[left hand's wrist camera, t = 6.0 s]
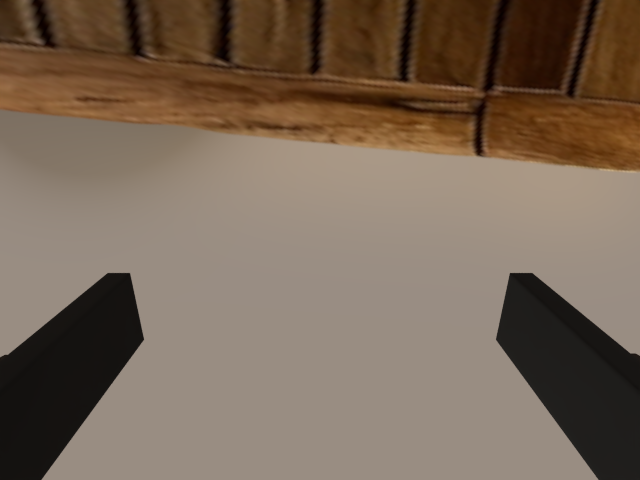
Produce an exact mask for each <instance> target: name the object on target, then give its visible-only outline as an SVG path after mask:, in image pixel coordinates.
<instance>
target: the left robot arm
mask: <svg viewBox="0 0 640 480" xmlns="http://www.w3.org/2000/svg"><path fill="white" fill-rule="evenodd" d="M143 340H144V337H143V333H142V328H141V323H140V318H139V314H138V309H137V304H136V299H135V295H134V290H133V285H132V280H131V276H130V273H107V274H106V275H105V276H104V277H102V278H101V279H100V280H99V281H98V282H96V283H95V284H94V285H93V286H92V287H90V288H89V289H88V290H87V291H85V292H84V293H83V294H82V295H80V296H79V297H78V298H77V299H76V300H74V301H73V302H72V303H71V304H69V305H68V306H67V307H66V308H65V309H63V310H62V311H61V312H60V313H58V314H57V315H56V316H55V317H54V318H52V319H51V320H50V321H49V322H47V323H46V324H45V325H44V326H43V327H41V328H40V329H39V330H38V331H36V332H35V333H34V334H33V335H32V336H30V337H29V338H28V339H27V340H26V341H24V342H23V343H22V344H21V345H19V346H18V347H17V348H16V349H15V350H13V351H12V352H11V353H10V354H8V355H4V356H2V357H0V480H42V478H43V477H44V475H45V474H46V473H47V471H48V470H49V469H50V467H51V466H52V465H53V463H54V462H55V460H56V459H57V458H58V456H59V455H60V454H61V452H62V451H63V449H64V448H65V447H66V445H67V444H68V443H69V441H70V440H71V438H72V437H73V436H74V434H75V433H76V432H77V430H78V429H79V428H80V426H81V425H82V424H83V422H84V421H85V419H86V418H87V417H88V415H89V414H90V413H91V411H92V410H93V409H94V407H95V406H96V404H97V403H98V402H99V400H100V399H101V398H102V396H103V395H104V393H105V392H106V391H107V389H108V388H109V387H110V385H111V384H112V383H113V381H114V380H115V378H116V377H117V376H118V374H119V373H120V372H121V370H122V369H123V368H124V366H125V365H126V363H127V362H128V361H129V359H130V358H131V357H132V355H133V354H134V353H135V351H136V350H137V348H138V347H139V346H140V344H141V343H142V342H143ZM496 340H497V342H498V343H499V344H500V346H501V347H502V348H503V350H504V351H505V353H506V354H507V355H508V357H509V358H510V359H511V361H512V362H513V363H514V365H515V366H516V368H517V369H518V370H519V372H520V373H521V374H522V376H523V377H524V378H525V380H526V381H527V382H528V384H529V385H530V387H531V388H532V389H533V391H534V392H535V393H536V395H537V396H538V398H539V399H540V400H541V402H542V403H543V404H544V406H545V407H546V408H547V410H548V411H549V413H550V414H551V415H552V417H553V418H554V419H555V421H556V422H557V423H558V425H559V426H560V428H561V429H562V430H563V432H564V433H565V434H566V436H567V437H568V438H569V440H570V441H571V443H572V444H573V445H574V447H575V448H576V449H577V451H578V452H579V454H580V455H581V456H582V458H583V459H584V460H585V462H586V463H587V465H588V466H589V467H590V469H591V470H592V471H593V473H594V474H595V475H596V477H597V478H598V480H640V356H639V355H637V354H630V353H629V352H628V351H627V350H625V349H624V348H623V347H622V346H621V345H619V344H618V343H617V342H616V341H614V340H613V339H612V338H611V337H610V336H608V335H607V334H606V333H605V332H603V331H602V330H601V329H600V328H599V327H597V326H596V325H595V324H594V323H593V322H591V321H590V320H589V319H587V318H586V317H585V316H584V315H583V314H582V313H580V312H579V311H578V310H577V309H575V308H574V307H573V306H572V305H570V304H569V303H568V302H567V301H566V300H564V299H563V298H562V297H561V296H560V295H558V294H557V293H556V292H555V291H553V290H552V289H551V288H550V287H549V286H547V285H546V284H545V283H544V282H542V281H541V280H540V279H539V278H538V277H536V276H535V275H534V274H533V273H510V276H509V280H508V285H507V290H506V295H505V299H504V304H503V309H502V314H501V319H500V323H499V328H498V333H497V337H496Z"/></svg>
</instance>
